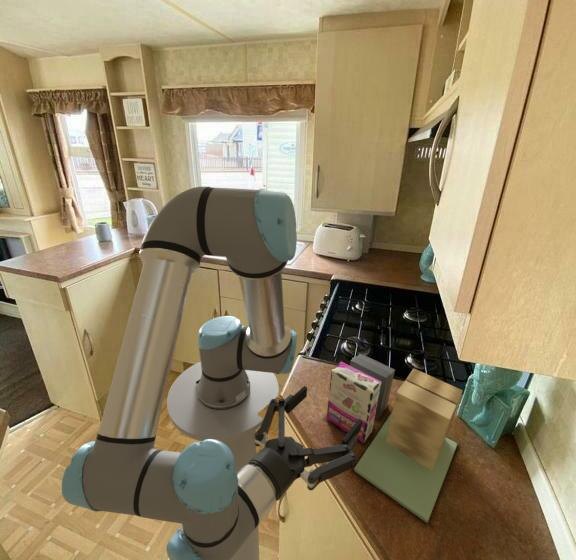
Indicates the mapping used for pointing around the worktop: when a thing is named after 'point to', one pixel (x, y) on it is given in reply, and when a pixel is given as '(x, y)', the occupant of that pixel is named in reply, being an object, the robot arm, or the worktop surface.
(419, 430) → the cardboard box
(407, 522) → the worktop surface
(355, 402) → the candy bar box
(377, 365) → the grey box
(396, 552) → the worktop surface
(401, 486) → the sage board
